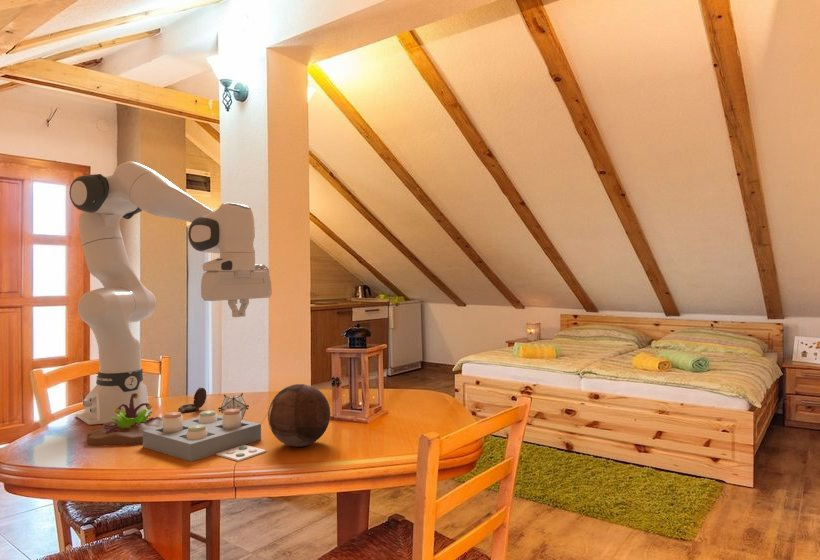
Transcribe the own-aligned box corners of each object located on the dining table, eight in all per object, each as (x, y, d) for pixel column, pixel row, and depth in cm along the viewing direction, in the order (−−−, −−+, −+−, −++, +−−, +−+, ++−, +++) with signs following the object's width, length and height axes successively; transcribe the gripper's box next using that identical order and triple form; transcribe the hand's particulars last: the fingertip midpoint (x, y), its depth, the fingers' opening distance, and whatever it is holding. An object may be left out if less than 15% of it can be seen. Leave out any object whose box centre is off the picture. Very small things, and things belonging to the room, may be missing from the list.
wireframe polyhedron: (237, 436, 158) (237, 413, 152) (211, 424, 160) (210, 401, 154) (255, 414, 165) (255, 391, 159) (230, 403, 167) (230, 380, 161)
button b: (195, 434, 146) (194, 413, 146) (210, 430, 150) (210, 409, 150) (205, 437, 144) (205, 415, 144) (221, 432, 147) (220, 411, 147)
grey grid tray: (142, 447, 137) (142, 430, 137) (212, 427, 154) (212, 413, 154) (191, 461, 126) (190, 444, 126) (261, 439, 142) (260, 423, 142)
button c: (183, 451, 132) (182, 427, 132) (200, 446, 136) (199, 423, 136) (194, 454, 130) (194, 430, 130) (211, 449, 133) (211, 425, 133)
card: (216, 455, 130) (216, 452, 130) (244, 446, 137) (244, 444, 137) (238, 461, 126) (238, 459, 126) (266, 451, 132) (266, 449, 132)
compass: (185, 407, 178) (184, 385, 178) (207, 408, 177) (207, 385, 177) (170, 414, 170) (169, 390, 170) (193, 415, 169) (193, 391, 169)
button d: (218, 433, 140) (218, 411, 140) (233, 429, 144) (233, 407, 144) (230, 436, 138) (229, 413, 138) (245, 431, 142) (245, 409, 142)
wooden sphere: (334, 435, 145) (333, 378, 144) (325, 454, 130) (324, 390, 129) (276, 436, 145) (275, 379, 144) (261, 455, 130) (260, 391, 129)
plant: (184, 424, 159) (183, 385, 159) (156, 445, 139) (155, 401, 139) (112, 426, 158) (111, 387, 158) (74, 448, 138) (73, 403, 138)
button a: (159, 437, 138) (158, 414, 138) (176, 432, 142) (175, 410, 142) (169, 440, 135) (169, 417, 135) (186, 435, 139) (186, 413, 139)
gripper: (261, 264, 157) (262, 313, 157) (196, 264, 140) (197, 319, 140) (276, 264, 153) (277, 314, 153) (212, 263, 136) (213, 320, 136)
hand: (238, 316), depth 146 cm, fingers closed
